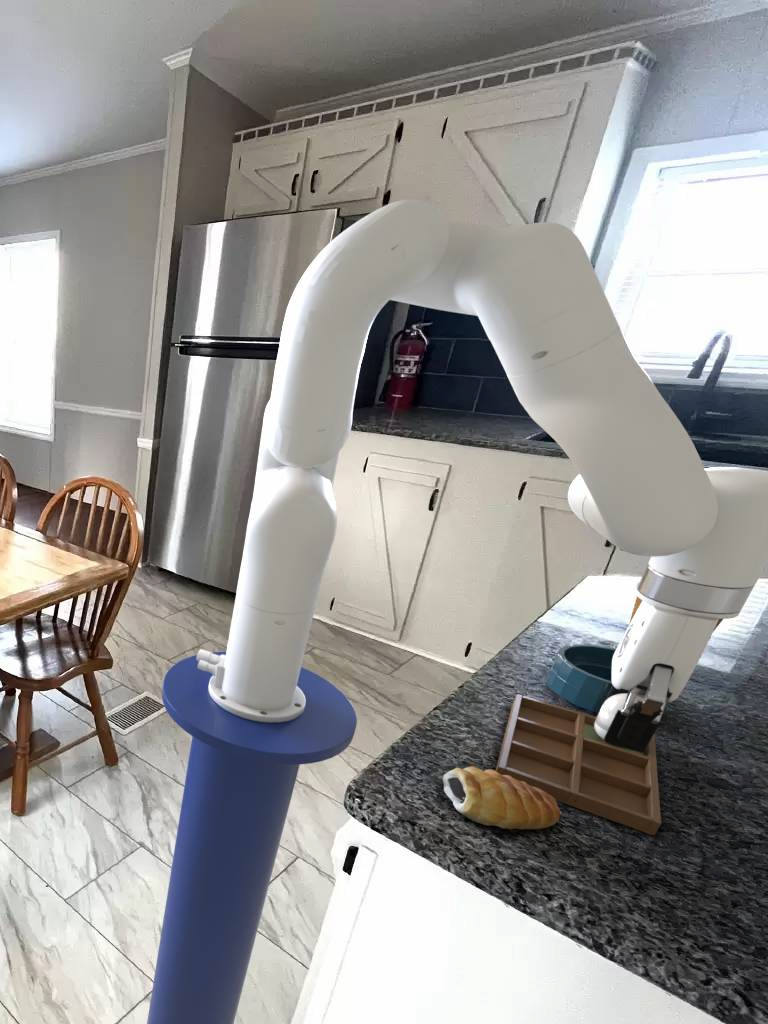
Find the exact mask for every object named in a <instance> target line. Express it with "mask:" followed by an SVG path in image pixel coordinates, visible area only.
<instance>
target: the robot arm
mask: <svg viewBox="0 0 768 1024" xmlns="http://www.w3.org/2000/svg"><path fill="white" fill-rule="evenodd" d="M606 295H607V294H605V291H604V289H603V287H602V284H601V282H600V280H599V277H598V275H597V273H596V271H595V268H594V266H593V264H592V262H591V259H590V258H589V255H588V253H587V251H586V249H585V247H584V245H583V243H582V242H581V240H580V239H579V238H578V236H577V235H576V234H575V233H574V232H573V231H572V230H571V229H570V228H568V227H567V226H565V225H563V224H561V223H556V222H548V221H541V222H540V221H539V222H532V223H526V224H521V225H517V226H513V227H506V226H505V227H504V226H495V225H494V226H493V225H485V224H477V223H471V222H464V221H457V220H451V219H447V217H446V215H445V213H444V211H442V210H441V209H440V207H438V205H436V204H434V203H432V202H431V201H428V200H426V199H425V200H424V199H421V198H409V199H408V198H407V199H401V200H397V201H396V200H395V201H393V202H391V203H388V204H385V205H383V206H382V207H379V208H377V209H376V210H374V211H371V212H370V213H369V214H367V215H365V216H364V217H362V218H360V219H359V220H357V221H356V222H355V223H353V224H351V225H350V226H349V227H347V228H346V229H344V230H343V231H342V232H341V233H339V234H338V235H336V236H335V237H334V238H333V239H332V240H331V241H329V243H328V244H326V246H325V247H324V248H323V249H322V250H321V251H320V252H319V253H318V254H317V255H316V256H315V258H314V259H313V260H312V262H311V263H310V264H309V265H308V267H307V268H306V270H305V271H304V272H303V274H302V275H301V278H300V279H299V281H298V283H297V284H296V286H295V288H294V290H293V292H292V294H291V297H290V300H289V301H288V302H289V303H288V305H287V307H286V311H285V315H284V320H283V324H282V329H281V333H280V340H279V347H278V352H277V357H276V360H275V361H276V362H275V366H274V373H273V380H272V387H271V393H270V399H269V400H268V402H267V404H266V406H265V409H264V413H263V420H262V427H261V434H260V443H259V449H258V456H257V464H256V472H255V478H254V479H255V480H254V486H253V493H252V494H253V495H252V500H251V504H250V510H249V516H248V520H247V525H246V532H245V539H244V545H243V552H242V558H241V564H240V569H239V575H238V580H237V587H236V592H235V594H236V595H235V600H234V605H233V612H232V617H231V622H230V628H229V634H228V640H227V645H226V650H225V652H226V655H223V654H222V655H220V656H219V655H216V654H213V653H211V652H212V651H208V650H205V649H203V648H200V649H199V650H198V651H197V654H196V655H197V657H196V660H197V661H199V663H198V666H197V668H198V669H200V670H203V671H207V672H210V673H212V675H213V676H212V677H211V679H210V681H209V686H208V689H209V694H210V696H211V697H212V699H213V700H214V701H215V702H216V703H217V704H218V705H219V706H220V707H222V708H223V709H225V710H226V711H228V712H230V713H232V714H234V715H237V716H239V717H242V718H245V719H249V720H253V721H258V722H267V723H279V722H286V721H290V720H292V719H295V718H297V717H298V716H300V715H301V714H302V713H303V711H304V708H305V703H306V699H305V695H304V694H303V692H302V691H301V690H300V689H299V688H298V687H297V682H298V678H299V674H300V670H301V667H302V665H303V661H304V657H305V653H306V649H307V644H308V640H309V635H310V631H311V628H312V627H311V626H312V623H313V619H314V614H315V610H316V604H317V601H318V596H319V592H320V588H321V584H322V579H323V576H324V573H325V569H326V565H327V563H328V559H329V557H330V553H331V551H332V549H333V545H334V541H335V537H336V533H337V528H338V509H337V503H336V500H335V496H334V492H333V488H334V482H335V476H336V470H337V465H338V462H339V461H338V460H339V456H340V451H341V450H342V449H343V448H344V446H345V444H346V442H347V441H348V439H349V437H350V434H351V431H352V427H353V426H352V425H353V415H354V414H353V412H354V405H355V398H356V392H357V387H358V381H359V375H360V371H361V364H362V362H363V357H364V354H365V351H366V350H365V349H366V344H367V340H368V336H369V333H370V330H371V327H372V325H373V323H374V322H375V319H376V317H377V315H378V314H379V313H380V311H381V310H382V309H383V308H384V306H386V304H387V303H388V302H389V301H393V302H398V303H403V304H408V305H414V306H418V307H423V308H428V309H433V310H437V311H444V312H448V313H449V312H450V313H457V314H463V315H470V316H476V317H478V320H479V321H480V324H481V326H482V327H483V330H484V332H485V335H486V336H487V338H488V340H489V341H490V343H491V346H492V347H493V349H494V351H495V354H496V355H497V357H498V360H499V362H500V364H501V365H502V367H503V371H505V374H506V376H507V378H508V381H509V383H510V385H511V387H512V390H513V391H514V393H515V395H516V397H517V400H518V401H519V403H520V405H521V406H522V407H523V409H524V410H525V411H526V412H527V415H529V417H530V418H531V419H532V420H533V421H534V422H535V423H536V424H537V425H538V426H539V427H540V428H541V429H542V430H543V431H544V432H546V433H547V434H548V435H549V436H550V437H551V438H552V439H553V440H554V441H555V442H556V443H557V445H559V447H560V448H561V449H562V451H564V453H565V455H566V456H567V457H568V458H569V460H570V461H571V463H572V464H573V466H574V467H575V469H576V471H577V472H578V474H577V476H576V477H574V479H573V480H572V482H571V483H570V485H569V487H568V491H567V502H568V505H569V507H570V509H571V511H572V513H574V515H575V516H576V517H577V518H578V519H579V520H580V521H582V522H583V523H584V524H586V525H587V526H588V527H589V528H591V529H592V530H594V531H595V533H598V534H600V535H601V536H602V537H603V538H604V539H606V540H607V541H608V542H609V543H610V544H612V545H613V546H615V547H616V548H617V549H620V550H621V551H623V552H626V553H628V554H631V555H637V556H641V557H650V559H649V561H648V564H647V566H646V568H645V570H644V572H643V574H642V575H641V576H642V577H641V578H640V581H639V582H640V583H639V582H638V583H639V585H638V587H637V588H636V589H635V591H634V595H635V596H636V598H637V597H638V598H640V599H641V600H642V602H641V604H640V606H639V608H638V609H637V611H636V613H635V615H634V617H633V619H632V621H631V623H630V622H629V623H630V624H629V623H628V626H627V628H626V630H625V632H624V633H623V636H622V638H621V640H620V641H619V644H618V645H617V647H616V648H615V649H616V651H615V653H614V655H613V658H612V684H613V685H612V687H611V689H610V691H609V693H608V696H607V698H606V700H607V699H608V698H609V697H611V696H613V695H616V694H622V693H628V694H627V697H626V700H625V703H624V706H623V709H622V711H621V710H617V712H616V714H615V716H614V718H613V721H612V723H611V725H610V727H609V729H608V731H607V733H606V735H605V737H604V740H605V742H607V743H610V744H613V745H617V746H620V747H623V748H627V749H630V750H633V751H637V752H644V751H645V750H646V748H647V746H648V744H649V742H650V740H651V738H652V737H653V735H654V734H655V732H657V729H658V727H659V725H660V721H661V719H662V716H663V715H662V713H663V710H664V707H665V704H666V702H670V703H671V702H674V701H676V700H678V698H679V697H680V695H681V694H682V693H683V690H684V689H685V687H686V685H687V684H688V683H689V680H690V678H691V676H692V675H693V673H694V670H695V669H696V667H697V666H698V663H699V661H700V659H701V657H702V655H703V653H704V651H705V650H706V648H707V645H708V643H709V641H710V640H711V638H712V635H713V633H714V632H715V630H716V629H715V627H716V624H717V622H718V620H719V619H723V620H727V619H734V618H736V617H738V616H739V615H740V613H741V612H742V609H743V607H744V606H745V604H746V603H747V600H748V599H749V597H750V595H751V593H752V591H753V590H754V587H755V586H756V584H757V583H758V581H759V578H760V577H761V575H762V573H763V571H764V569H765V567H766V566H767V564H768V470H763V469H756V468H747V467H746V468H745V467H730V466H728V467H727V466H724V467H723V466H719V467H709V468H705V466H704V463H703V461H702V459H701V457H700V454H699V453H698V450H697V449H696V446H695V444H694V442H693V440H692V439H691V436H690V435H689V433H688V432H687V430H686V428H685V427H684V425H683V424H682V422H681V421H680V419H679V418H678V416H677V415H676V413H675V412H674V411H673V410H672V408H671V407H670V405H669V404H668V403H667V401H666V400H665V399H664V397H663V396H662V395H661V392H659V390H658V389H657V387H656V385H655V384H654V382H653V380H652V379H651V378H650V376H649V375H648V373H647V372H646V371H645V370H644V368H643V367H642V366H641V364H640V363H639V361H638V360H637V359H636V357H635V356H634V353H633V351H632V350H631V348H630V346H629V344H628V341H627V340H626V337H625V335H624V332H623V331H622V328H621V326H620V324H619V322H618V320H617V318H616V316H615V313H614V311H613V309H612V307H611V305H610V302H609V300H608V298H607V296H606ZM714 629H715V630H714ZM713 631H714V632H713ZM636 696H639V697H642V698H643V701H642V702H641V701H638V702H637V703H634V701H635V698H636ZM633 704H634V705H633Z"/></svg>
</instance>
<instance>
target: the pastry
mask: <svg viewBox="0 0 768 1024" xmlns="http://www.w3.org/2000/svg"><path fill="white" fill-rule="evenodd" d="M442 782H443V791H444V793H445V795H446V796H447V797H448V798H449V800H450V801H451V802H452V805H453V806H454V808H455V810H456V811H457V812H459V813H460V814H461V815H463V816H464V817H467V818H468V819H469V820H471V821H472V822H475V823H478V824H481V825H484V826H486V827H487V826H496V827H499V829H508V830H514V829H516V830H521V831H522V830H528V831H529V830H539V829H546V828H549V827H551V826H554V825H555V824H557V822H558V821H559V820H560V816H561V809H560V808H559V806H558V804H557V803H558V801H556V800H555V798H553V797H552V796H550V795H549V794H547V793H546V792H544V791H543V790H541V789H539V788H536V787H533V786H529V785H528V784H527V783H526V782H523V781H518V780H516V779H514V778H512V777H511V776H509V775H501V774H499V773H498V772H496V770H494V769H491V768H490V769H489V768H488V769H485V770H484V769H483V770H482V769H480V768H478V767H476V766H474V765H471V766H467V767H464V768H460V767H455V768H454V769H451V770H448V772H446V773H444V774H443V777H442Z"/></svg>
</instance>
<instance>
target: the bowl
mask: <svg viewBox="0 0 768 1024" xmlns="http://www.w3.org/2000/svg"><path fill="white" fill-rule="evenodd" d="M616 649H617V648H613V647H610V646H603V645H597V644H590V643H589V644H586V643H584V644H583V643H580V644H579V643H574V644H567V645H564V646H562V647H560V648H559V649H558V650H557V653H556V655H555V657H554V659H553V661H552V664H551V667H550V669H549V671H548V673H547V676H546V681H545V684H546V685H547V686H548V687H549V689H550V690H551V691H553V692H554V693H555V694H557V696H559V697H560V698H562V699H564V700H565V701H567V702H569V703H571V704H573V705H575V706H577V707H579V708H580V709H584V710H586V711H589V712H592V713H595V714H597V715H598V713H599V711H600V709H601V707H602V705H603V703H604V702H605V700H606V698H607V696H608V693H609V691H610V689H611V687H612V685H613V684H612V658H613V655H614V653H615V651H616ZM670 704H671V702H666V704H665V707H664V710H663V713H662V716H663V715H665V713H666V712H667V709H668V707H669V705H670Z"/></svg>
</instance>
